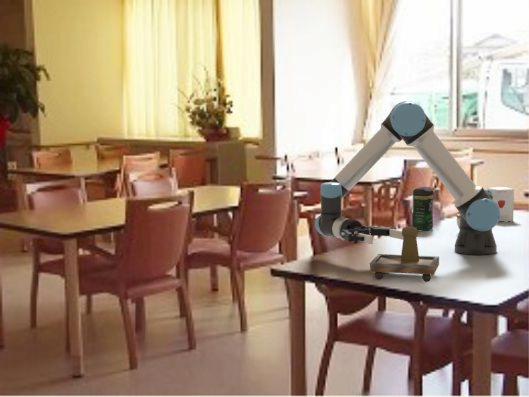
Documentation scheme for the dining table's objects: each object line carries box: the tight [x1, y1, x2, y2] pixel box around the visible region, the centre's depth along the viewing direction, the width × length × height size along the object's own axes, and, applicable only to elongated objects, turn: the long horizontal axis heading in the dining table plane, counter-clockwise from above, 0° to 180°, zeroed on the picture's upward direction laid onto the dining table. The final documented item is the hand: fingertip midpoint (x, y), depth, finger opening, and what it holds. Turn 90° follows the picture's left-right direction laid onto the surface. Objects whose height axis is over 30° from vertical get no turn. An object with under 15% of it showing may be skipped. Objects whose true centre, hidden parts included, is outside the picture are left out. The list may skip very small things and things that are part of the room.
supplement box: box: [486, 186, 515, 223], centre depth 374 cm, size 9×9×15 cm
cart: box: [369, 253, 440, 283], centre depth 265 cm, size 20×15×6 cm
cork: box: [400, 226, 420, 262], centre depth 267 cm, size 6×6×11 cm
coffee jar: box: [411, 186, 434, 231], centre depth 354 cm, size 10×8×19 cm
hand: (387, 237), depth 271 cm, fingers open, 13 cm apart
